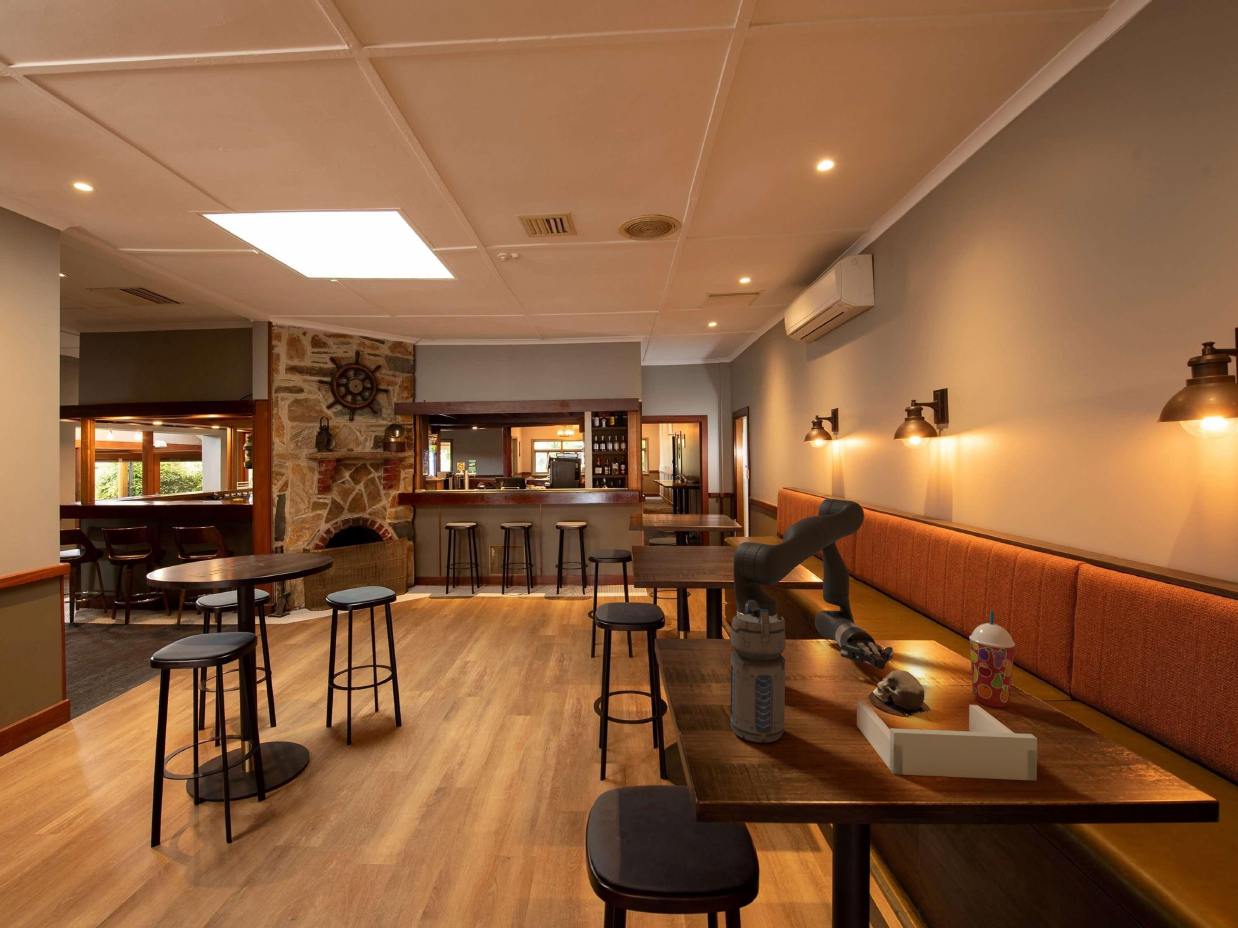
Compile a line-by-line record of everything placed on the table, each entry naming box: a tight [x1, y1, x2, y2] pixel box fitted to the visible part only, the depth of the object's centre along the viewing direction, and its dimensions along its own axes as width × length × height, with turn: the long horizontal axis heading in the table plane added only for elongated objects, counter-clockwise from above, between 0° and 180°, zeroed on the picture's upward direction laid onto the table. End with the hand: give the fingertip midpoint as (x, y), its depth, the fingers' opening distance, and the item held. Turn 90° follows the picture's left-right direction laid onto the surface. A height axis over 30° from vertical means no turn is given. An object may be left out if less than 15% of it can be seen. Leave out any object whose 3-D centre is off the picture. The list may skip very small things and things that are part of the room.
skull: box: [868, 669, 932, 718], centre depth 123 cm, size 12×10×10 cm
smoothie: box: [968, 610, 1016, 708], centre depth 124 cm, size 8×8×20 cm
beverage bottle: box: [729, 600, 786, 744], centre depth 110 cm, size 10×13×25 cm
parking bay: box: [856, 700, 1038, 782], centre depth 103 cm, size 23×18×7 cm
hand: (880, 664), depth 130 cm, fingers closed
